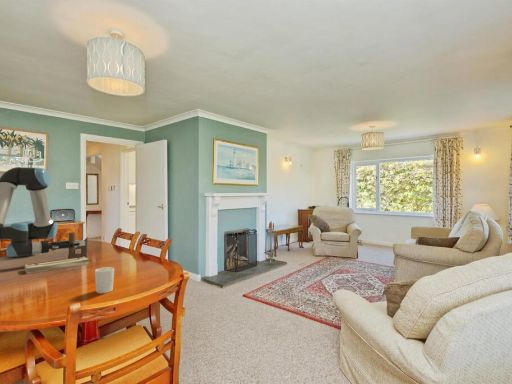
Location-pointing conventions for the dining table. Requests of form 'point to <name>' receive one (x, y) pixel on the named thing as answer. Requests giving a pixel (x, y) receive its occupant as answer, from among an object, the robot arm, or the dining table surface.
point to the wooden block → (72, 250)
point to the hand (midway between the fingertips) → (83, 242)
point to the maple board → (56, 265)
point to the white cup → (104, 279)
